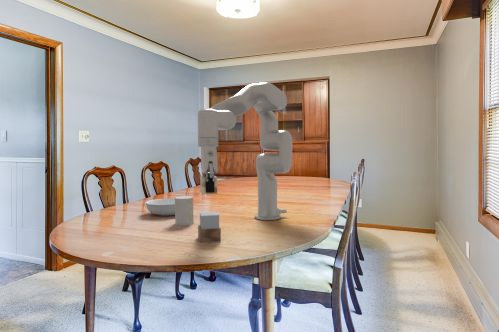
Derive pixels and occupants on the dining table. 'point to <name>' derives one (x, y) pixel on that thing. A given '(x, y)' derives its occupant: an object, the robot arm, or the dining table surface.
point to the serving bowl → (161, 206)
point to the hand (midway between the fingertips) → (208, 190)
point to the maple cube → (203, 185)
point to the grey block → (209, 220)
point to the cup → (184, 210)
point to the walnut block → (209, 235)
